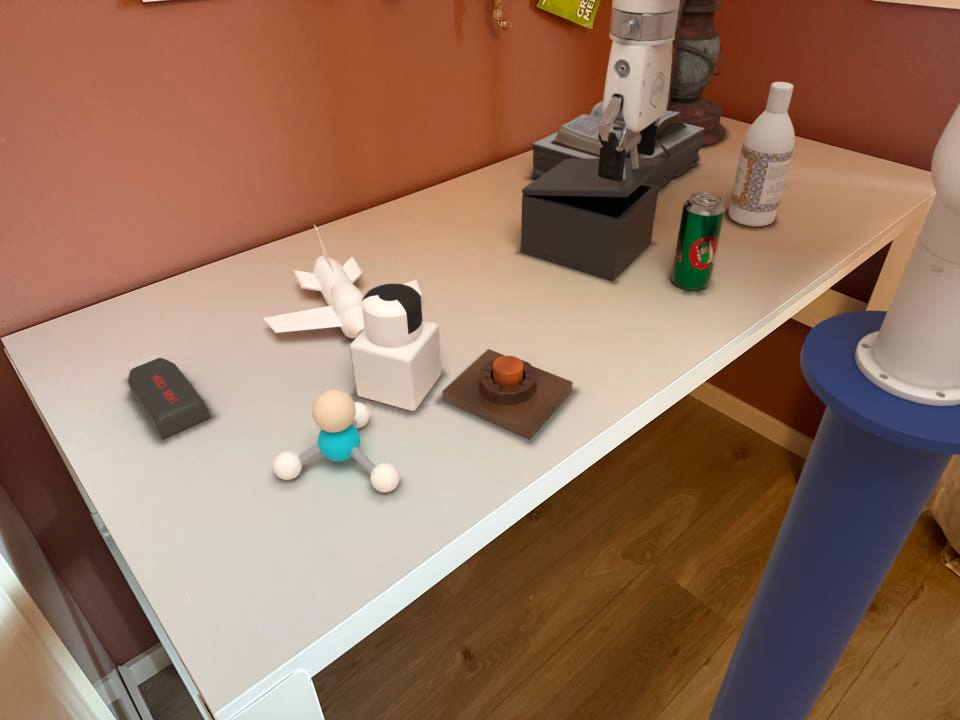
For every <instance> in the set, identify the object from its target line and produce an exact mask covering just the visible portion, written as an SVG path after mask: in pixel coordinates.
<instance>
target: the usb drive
mask: <svg viewBox="0 0 960 720" xmlns="http://www.w3.org/2000/svg"><path fill="white" fill-rule="evenodd" d="M127 369H128V371H129V372H128V379H127V383H128V386H129V389H130V391H131V394H132V396H133V398H134V400H135V402H136V403H137V404H138V406H139V408H140V409H141V410H142V412H143V414H144V415H145V417H146V418H147V420H148V421H149V422H150V424H151V426H152V427H153V429H154V430H155V432H156V433H157V435H158V436H159V439H161V440H164V439H166V438H169V437H170V436H172V435H175V434H177V433H179V432H181V431H183V430H187V429H188V428H190V427H192V426H195V425H196V424H199V423H201V422H204V421H206V420H208V419H210V418H211V415H210V413H209V409H208V406H207V405H206V402H205V401H204V399H203V398H202V397H201V396H200V394H199V393H198V392H197V390H196V389H195V388H194V386H193V385H192V384H191V383H190V381H189V380H188V379H187V377H186V376H185V375H184V374H183V372H182V370H181V369H180V368H179V367H178V366H177V364H176V363H174V362H173V361H170V360H168V359H166V358H163V357H159V355H158V354H156V353H155V354H152V355H149V356H147V357H144V358H142V359H139V360H137V361H135V362H131V363H129V364H127Z"/></svg>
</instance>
